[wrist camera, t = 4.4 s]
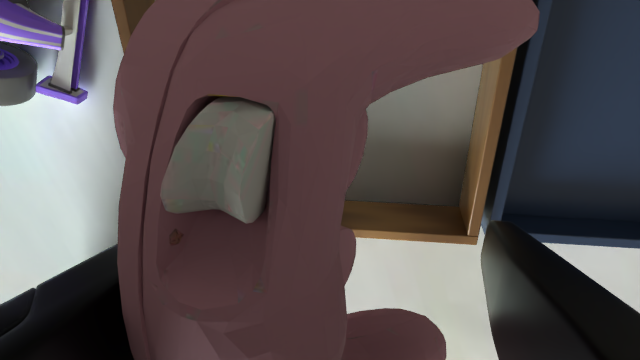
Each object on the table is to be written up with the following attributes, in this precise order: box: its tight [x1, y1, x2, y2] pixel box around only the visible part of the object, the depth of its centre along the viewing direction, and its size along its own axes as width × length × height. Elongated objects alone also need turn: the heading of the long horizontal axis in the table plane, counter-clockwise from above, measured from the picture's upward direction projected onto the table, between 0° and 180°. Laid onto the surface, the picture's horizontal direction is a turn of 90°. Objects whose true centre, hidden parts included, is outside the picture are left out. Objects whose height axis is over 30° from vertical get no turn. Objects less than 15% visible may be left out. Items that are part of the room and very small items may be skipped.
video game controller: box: [113, 0, 540, 360], centre depth 8 cm, size 10×5×7 cm, turn 178°
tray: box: [481, 0, 640, 248], centre depth 17 cm, size 9×14×2 cm, turn 1°
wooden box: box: [111, 0, 517, 245], centre depth 18 cm, size 15×14×2 cm
